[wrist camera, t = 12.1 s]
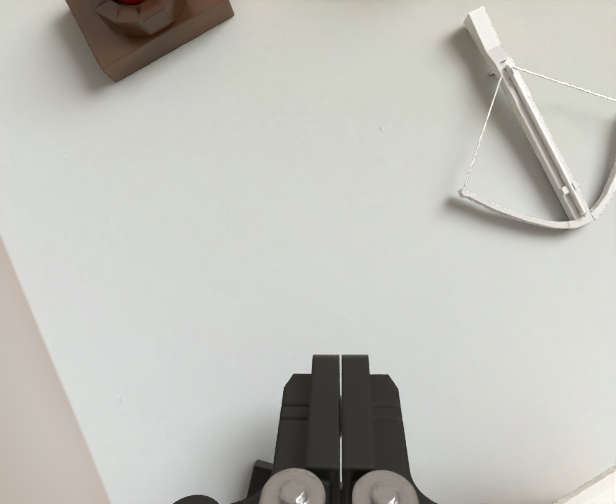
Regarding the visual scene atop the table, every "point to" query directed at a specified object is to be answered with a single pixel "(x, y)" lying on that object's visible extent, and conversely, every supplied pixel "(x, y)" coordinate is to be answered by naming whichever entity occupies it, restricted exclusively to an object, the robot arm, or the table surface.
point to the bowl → (594, 490)
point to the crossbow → (532, 133)
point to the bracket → (265, 478)
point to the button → (131, 1)
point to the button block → (143, 29)
